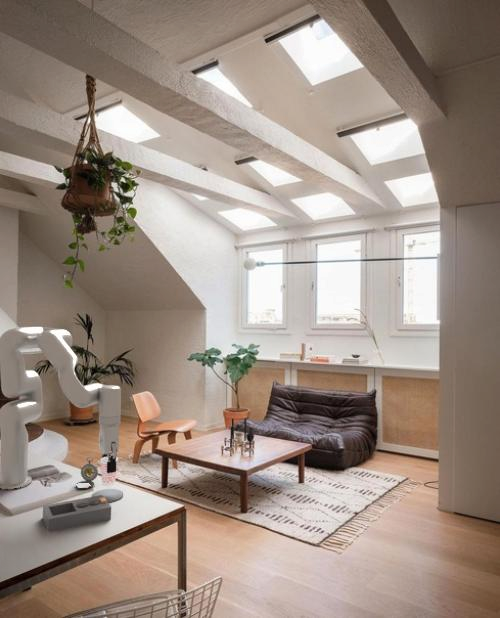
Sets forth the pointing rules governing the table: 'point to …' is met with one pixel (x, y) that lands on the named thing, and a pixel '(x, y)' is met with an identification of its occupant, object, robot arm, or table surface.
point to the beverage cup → (107, 478)
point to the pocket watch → (89, 473)
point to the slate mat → (109, 494)
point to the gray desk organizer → (76, 513)
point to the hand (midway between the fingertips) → (108, 468)
